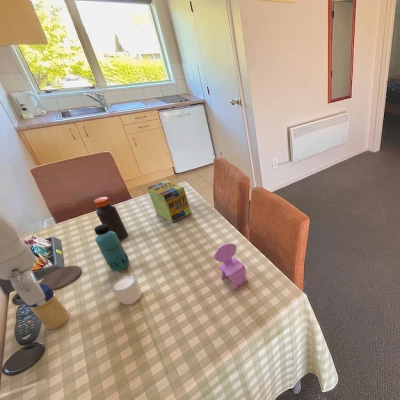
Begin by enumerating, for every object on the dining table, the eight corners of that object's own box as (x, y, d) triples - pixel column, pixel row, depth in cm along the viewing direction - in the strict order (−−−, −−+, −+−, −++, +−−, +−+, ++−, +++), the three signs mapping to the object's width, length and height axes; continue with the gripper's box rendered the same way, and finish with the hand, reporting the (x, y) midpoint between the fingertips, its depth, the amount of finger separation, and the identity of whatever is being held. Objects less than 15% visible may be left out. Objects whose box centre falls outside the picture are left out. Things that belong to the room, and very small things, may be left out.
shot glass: (114, 304, 89) (106, 290, 86) (130, 288, 95) (122, 274, 92) (132, 307, 88) (124, 293, 85) (147, 291, 94) (140, 277, 91)
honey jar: (42, 331, 81) (20, 307, 75) (50, 316, 86) (30, 291, 80) (66, 325, 83) (46, 300, 77) (72, 310, 88) (54, 285, 82)
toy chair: (231, 293, 93) (222, 261, 85) (218, 280, 98) (209, 249, 90) (251, 279, 98) (244, 248, 91) (237, 268, 103) (230, 237, 96)
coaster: (33, 295, 93) (32, 294, 93) (48, 272, 103) (47, 270, 102) (75, 284, 97) (75, 283, 97) (86, 263, 107) (85, 262, 106)
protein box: (173, 223, 130) (163, 195, 122) (156, 213, 137) (145, 187, 130) (192, 213, 138) (184, 186, 130) (175, 204, 145) (166, 179, 137)
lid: (56, 297, 80) (51, 290, 78) (29, 311, 75) (23, 304, 74) (51, 287, 83) (46, 281, 81) (24, 300, 79) (18, 293, 77)
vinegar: (128, 238, 120) (110, 200, 110) (110, 244, 117) (90, 205, 106) (128, 231, 125) (110, 194, 115) (110, 236, 121) (91, 198, 111)
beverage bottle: (108, 271, 102) (84, 230, 92) (124, 260, 108) (103, 219, 98) (119, 276, 100) (96, 234, 90) (135, 264, 106) (115, 223, 95)
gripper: (35, 272, 68) (62, 307, 75) (19, 242, 79) (44, 275, 86) (0, 288, 64) (32, 323, 71) (-12, 253, 75) (17, 287, 82)
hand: (39, 296), depth 79 cm, fingers closed on lid, 6 cm apart
